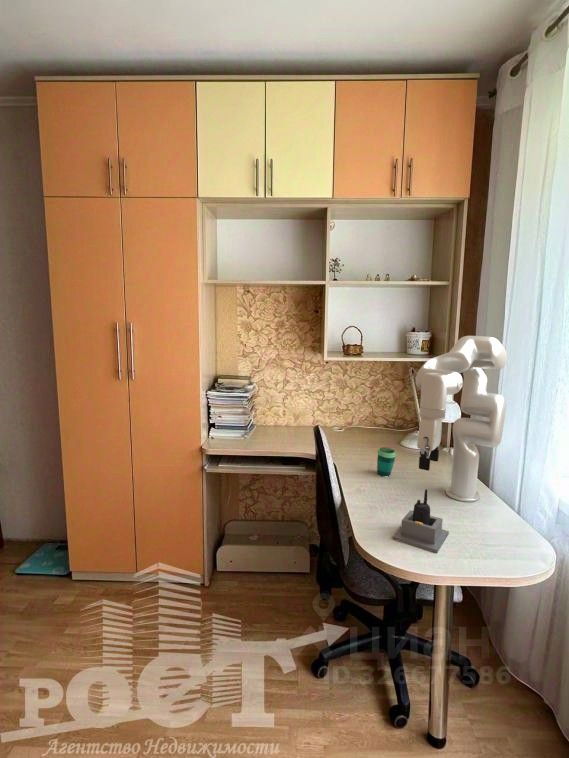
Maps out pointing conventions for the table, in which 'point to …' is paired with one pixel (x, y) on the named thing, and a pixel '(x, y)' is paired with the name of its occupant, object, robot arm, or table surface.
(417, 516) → the two-way radio
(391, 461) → the cup
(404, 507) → the table surface
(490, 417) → the robot arm
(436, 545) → the charging dock
